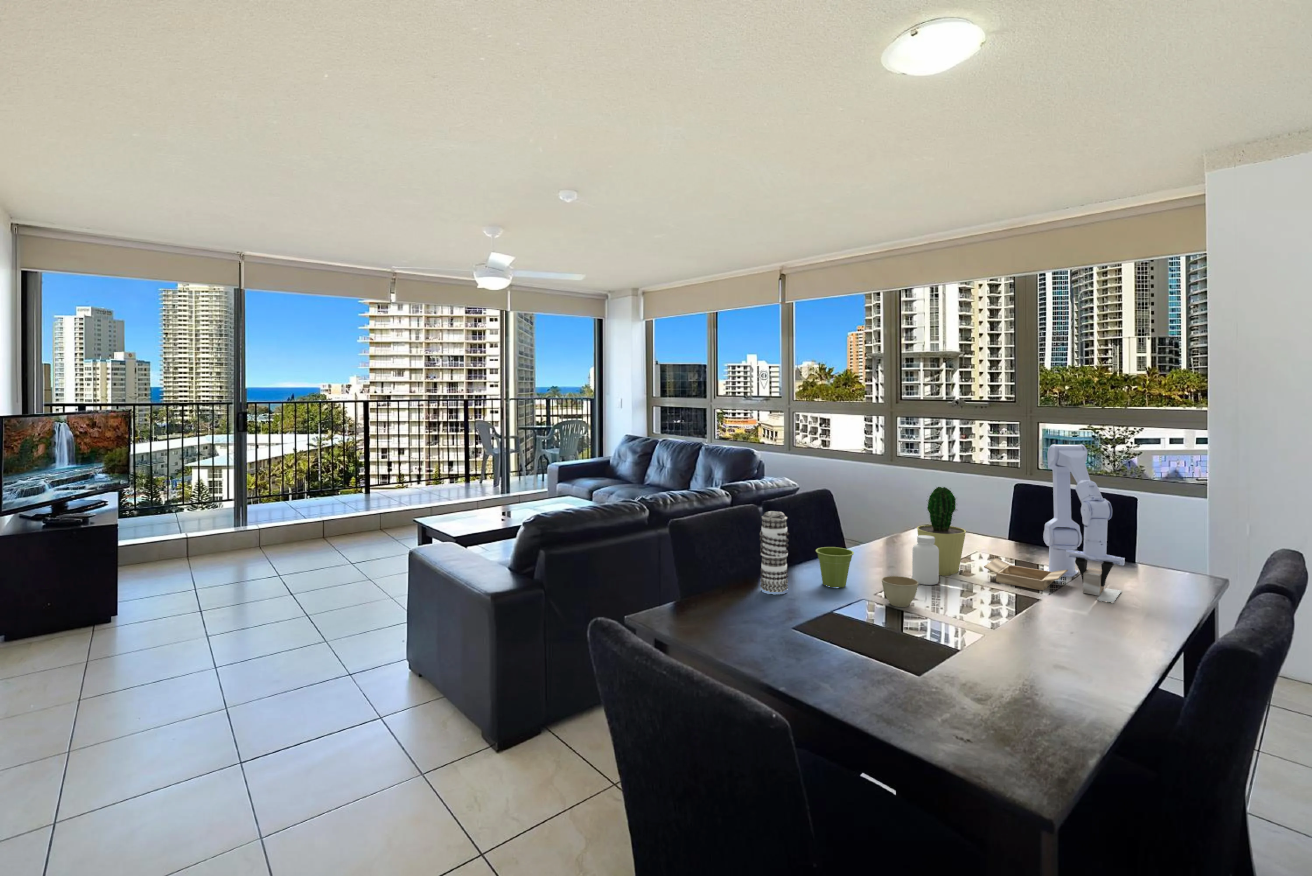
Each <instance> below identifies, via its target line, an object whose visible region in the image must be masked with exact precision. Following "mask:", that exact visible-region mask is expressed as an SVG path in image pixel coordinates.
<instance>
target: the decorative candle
mask: <svg viewBox="0 0 1312 876" xmlns="http://www.w3.org/2000/svg"><path fill="white" fill-rule="evenodd" d="M761 520H762V521H761V524H762V525H761V528H760V529H761V530H760V532H759V541H760V544H759V547H760V549H759V552H760V556H762V557H761V564H760V565H761V568H760V569H759V570H760V577H761V578H760V580H759V581H760V589H761V588H762V589H763V590H765V591H769V592H783V591H785V590H786V589H787V590H788V588H789V585H788V583H789V580H788V579H787V578H788V577H789V575H788V573H789V569H788V563H787V557H788V555H789V551H788V549H787V548H788V547H789V546H790V545H789V544H788V542H789V541H790V540H789V538H787V537H788V536H790V533H789V531H788V526H787V520H788V516H786V515H785V513H784V512H782V511H777V510H776V511H775V510H770V511H766V512H764V514H763V515H762V516H761Z"/></svg>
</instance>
